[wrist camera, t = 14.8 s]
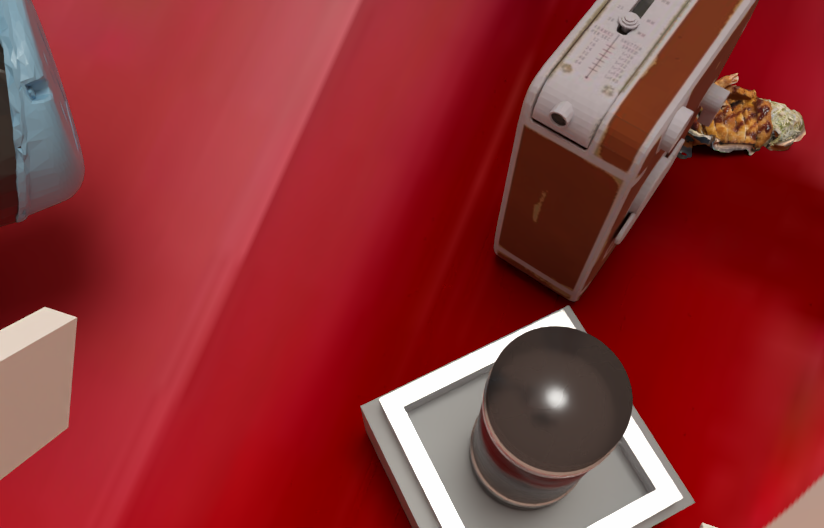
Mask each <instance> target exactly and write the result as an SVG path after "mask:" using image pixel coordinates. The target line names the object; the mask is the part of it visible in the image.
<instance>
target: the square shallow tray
mask: <svg viewBox="0 0 824 528" xmlns="http://www.w3.org/2000/svg"><path fill="white" fill-rule="evenodd" d="M563 309H564V311H565V313H566V314H567V316H568V317H569V319H570V320H571V322H572V324H573V325H574V327H575V328H576V329H577V330H580V331H583V332H585V333H586V331H585V330H584V328H583V326H582V325H581V323H580V322H579V320H578V319H577V317H576V316H575V314H574V312H573V311H572V309H571V308H570V306H569V305H568V306H566V307H564V308H562V309H560V310H558V311H556V312H554V313H552V314H550V315H548V316H545V317H543V318H541V319H539V320H537V321H535V322H533V323H531V324H529V325H527V326H525V327H523V328H521V329H519V330H517V331H515V332H512V333H510V334H508V335H506V336H504V337H502V338H500V339H498V340H496V341H494V342H492V343H490V344H488V345H486V346H484V347H482V348H480V349H477V350H475V351H473V352H471V353H469V354H467V355H465V356H463V357H461V358H459V359H457V360H455V361H453V362H451V363H449V364H447V365H444V366H442V367H440V368H438V369H436V370H434V371H432V372H430V373H428V374H426V375H424V376H422V377H420V378H418V379H416V380H414V381H411V382H409V383H407V384H405V385H403V386H401V387H399V388H397V389H395V390H393V391H391V392H389V393H387V394H385V395H383V396H381V397H378V398H376V399H374V400H372V401H370V402H368V403H366V404H364V405H362V406H361V411H362V415H363V420H364V424H365V429H366V432H367V435H368V437H369V439H370V441H371V443H372V445H373V447H374V449H375V451H376V453H377V455H378V457H379V460H380V462H381V464H382V466H383V468H384V470H385V472H386V474H387V476H388V478H389V480H390V483H391V485H392V487H393V489H394V491H395V493H396V495H397V497H398V499H399V501H400V503H401V506H402V508H403V510H404V512H405V514H406V516H407V518H408V520H409V522H410V524H411V526H412V528H440V527H439V525H438V523H437V521H436V519H435V517H434V515H433V513H432V511H431V509H430V506H429V504H428V502H427V500H426V498H425V496H424V494H423V492H422V490H421V488H420V486H419V484H418V482H417V480H416V478H415V476H414V474H413V472H412V470H411V468H410V466H409V464H408V462H407V460H406V458H405V456H404V454H403V452H402V450H401V448H400V446H399V444H398V442H397V440H396V438H395V436H394V434H393V432H392V430H391V428H390V426H389V423H388V421H387V419H386V417H385V415H384V413H383V411H382V409H381V407H380V403H379V399H380V398H382V397H384V396H386V395H388V394H390V393H392V392H394V391H396V390H398V389H400V388H402V387H404V386H407V385H409V384H411V383H413V382H415V381H417V380H419V379H421V378H423V377H425V376H427V375H429V374H431V373H433V372H435V371H437V370H439V369H442V368H444V367H446V366H448V365H450V364H452V363H454V362H456V361H458V360H460V359H462V358H464V357H466V356H468V355H470V354H472V353H475V352H477V351H479V350H481V349H483V348H485V347H487V346H489V345H491V344H493V343H495V342H497V341H499V340H501V339H503V338H505V337H507V336H510V335H512V334H514V333H516V332H518V331H520V330H522V329H524V328H526V327H528V326H530V325H532V324H534V323H536V322H538V321H540V320H542V319H545V318H547V317H549V316H551V315H553V314H555V313H557V312H559V311H561V310H563ZM489 372H490V371H489ZM489 372H487V373H485V374H483V375H481V376H479V377H477V378H475V379H473V380H471V381H469V382H467V383H465V384H463V385H461V386H459V387H457V388H455V389H453V390H451V391H449V392H447V393H445V394H443V395H441V396H438V397H436V398H434V399H432V400H430V401H428V402H426V403H424V404H422V405H420V406H418V407H416V408H414V409H412V410H410V411H408V412H406V414H407V415H408V417H409V419H410V421H411V423H412V425H413V427H414V429H415V431H416V433H417V435H418V437H419V439H420V441H421V443H422V445H423V447H424V449H425V451H426V453H427V455H428V457H429V459H430V461H431V463H432V465H433V467H434V469H435V471H436V473H437V475H438V477H439V479H440V481H441V483H442V485H443V486H444V488H445V490H446V492H447V494H448V496H449V498H450V500H451V502H452V504H453V506H454V508H455V510H456V512H457V514H458V516H459V518H460V520H461V522H462V524H463V526H464V528H588V527H589V526H591V525H593V524H595V523H597V522H598V521H600V520H602V519H604V518H606V517H607V516H609V515H611V514H613V513H615V512H616V511H618V510H620V509H622V508H624V507H625V506H627V505H629V504H631V503H633V502H634V501H636V500H638V499H640V498H642V497H643V496H645V495H647V494H648V492H647V490H646V489H645V487H644V485H643V484H642V482H641V481H640V479H639V477H638V476H637V474H636V473H635V471H634V469H633V468H632V466H631V464H630V463H629V461H628V460H627V458H626V456H625V455H624V453H623V451H622V450H621V448H620V447H619V445H618V444H617V446H616V447H615V449H614V450H613V451H612V452H611V453H610V455H609V456H608V457H607V458H606V459H605V460H603V461H602V462H601V463H600V464H599V465H598V466H596V467H595V468H593V469H591V470H590V471H588V472H587V473H586V474H585V475H584V476H583V477H582V478H581V479H580V480H579V482H578V483H577V485H576V486H575V487H574V488H573V489H572V491H570V492H569V493H568V494H567V495H566V496H565V497H563V498H562V499H560V500H559V501H557V502H555V503H553V504H552V505H549V506H547V507H545V508H542V509H538V510H532V511H522V510H515V509H512V508H508V507H506V506H504V505H501V504H500V503H498V502H496V501H495V500H493V499H492V498H491V497H490V496H489V495H488V494H487V493H485V492H484V490H483V489H482V488H481V486H480V485H479V483H478V482H477V480H476V478H475V476H474V474H473V471H472V467H471V463H470V437H471V433H472V429H473V426H474V423H475V420H476V419H477V417H478V415H479V412H480V408H481V405H482V398H483V391H484V387H485V383H486V380H487V377H488V375H489ZM631 416H632V418H633V420H634V421H635V423H636V424H637V426H638V427H639V429H640V431H641V432H642V434H643V435H644V437H645V438H646V440H647V442H648V443H649V445H650V446H651V448H652V449H653V451H654V453H655V454H656V456H657V457H658V459H659V460H660V462H661V464H662V465H663V467H664V468H665V470H666V471H667V473H668V475H669V476H670V478H671V479H672V481H673V482H674V484H675V486H676V487H677V489H678V490H679V492H680V494H681V495H682V497H683V498H682V499H680V500H679V501H677V502H675V503H673V504H672V505H670V506H668V507H666V508H664V509H663V510H661V511H659V512H657V513H656V514H654V515H652V516H650V517H648V518H647V519H645V520H643V521H641V522H640V523H638V524H636V525H634V526H632V527H631V528H651V527H653V526H654V525H656V524H658V523H660V522H661V521H663V520H665V519H667V518H668V517H670V516H672V515H674V514H676V513H677V512H679V511H681V510H683V509H684V508H686V507H688V506H690V505H691V504H693V503H695V501H694V500H693V498H692V497H691V495H690V494H689V492H688V490H687V489H686V487H685V486H684V484H683V483H682V481H681V480H680V478H679V476H678V475H677V473H676V472H675V470H674V469H673V467H672V465H671V464H670V462H669V461H668V459H667V458H666V456H665V455H664V453H663V451H662V450H661V448H660V447H659V445H658V444H657V442H656V440H655V439H654V437H653V436H652V434H651V433H650V431H649V430H648V428H647V426H646V425H645V423H644V422H643V420H642V419H641V417H640V415H639V414H638V412H637V411H636V409H635V408H634V406H633V407H632V414H631Z"/></svg>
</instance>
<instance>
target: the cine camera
mask: <svg viewBox="0 0 824 528" xmlns="http://www.w3.org/2000/svg"><path fill="white" fill-rule="evenodd" d="M758 1H759V0H597V1H596V2H595V3H594V4H593V6H592V7H591V8H590V9H589V10H588V12H587V13H586V14H585V15H584V17H583V18H582V19H581V20H580V21H579V23H578V24H577V25H576V26H575V27H574V29H573V30H572V31H571V32H570V34H569V35H568V36H567V37H566V38H565V40H564V41H563V42H562V43H561V45H560V46H559V47H558V48H557V49H556V51H555V52H554V53H553V54H552V55H551V57H550V58H549V59H548V60H547V62H546V63H545V64H544V65H543V67H542V68H541V69H540V71H539V72H538V74H537V75H536V76H535V78H534V80H533V81H532V83H531V85H530V87H529V89H528V91H527V93H526V96H525V99H524V102H523V106H522V110H521V113H520V117H519V121H518V126H517V130H516V135H515V140H514V145H513V150H512V155H511V160H510V165H509V170H508V175H507V180H506V184H505V189H504V194H503V199H502V204H501V209H500V214H499V219H498V224H497V229H496V234H495V241H494V251H495V253H496V254H497V255H498V256H499V257H500V258H501V259H503V260H505V261H506V262H508V263H509V264H511V265H513V266H514V267H516V268H517V269H519V270H521V271H522V272H524V273H525V274H527V275H528V276H530V277H532V278H533V279H535V280H536V281H538V282H540V283H541V284H543V285H544V286H546V287H548V288H549V289H551V290H552V291H554V292H556V293H557V294H559V295H561V296H562V297H564V298H566V299H568V300H570V301H573V302H575V301H577V300H578V299H579V298H580V297H581V296H582V294H583V293H584V292H585V290H586V289H587V288H588V286H589V285H590V283H591V282H592V280H593V279H594V277H595V276H596V274H597V273H598V271H599V270H600V268H601V267H602V266H603V264H604V263H605V261H606V260H607V258H608V257H609V255H610V254H611V252H612V251H613V249H614V248H615V246H616V245H617V244H620V243H621V241H622V240H623V239H624V237H625V236H626V234H627V233H628V231H629V230H630V228H631V227H632V225H633V224H634V222H635V221H636V219H637V218H638V216H639V215H640V213H641V212H642V210H643V208H644V207H645V205H646V204H647V202H648V201H649V199H650V198H651V196H652V195H653V193H654V192H655V190H656V189H657V187H658V186H659V184H660V183H661V181H662V180H663V178H664V176H665V175H666V173H667V172H668V170H669V169H670V167H671V165H672V164H673V162H674V160H675V158H676V156H677V155H678V153H679V151H680V149H681V147H682V145H683V143H684V142H685V140H684V139H685V137H686V135H687V133H688V131H689V129H690V128H691V126H692V124H693V122H694V120H695V118H696V117H697V115H698V113H699V111H700V109H701V107H702V108H703V110H702V112H701V114H700V116H699V118H698V120H697V121H698V122H699V123H701V124H703V125H705V126H707V127H709V126H710V124H711V123H712V121H713V119H714V118H715V116H716V114H717V113H718V112H719V110H720V109H721V107H722V106H723V104H724V103H725V101H726V99H727V98H728V96H729V94H730V91H728V90H726V89H724V88H722V87H720V86H718V85H716V84H714V83H715V82H716V80H717V78H718V76H719V74H720V72H721V71H722V69H723V67H724V65H725V63H726V61H727V60H728V58H729V56H730V54H731V52H732V50H733V49H734V47H735V45H736V43H737V41H738V39H739V38H740V36H741V34H742V32H743V30H744V28H745V26H746V25H747V23H748V21H749V19H750V17H751V15H752V13H753V11H754V9H755V7H756V5H757V3H758Z"/></svg>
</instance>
